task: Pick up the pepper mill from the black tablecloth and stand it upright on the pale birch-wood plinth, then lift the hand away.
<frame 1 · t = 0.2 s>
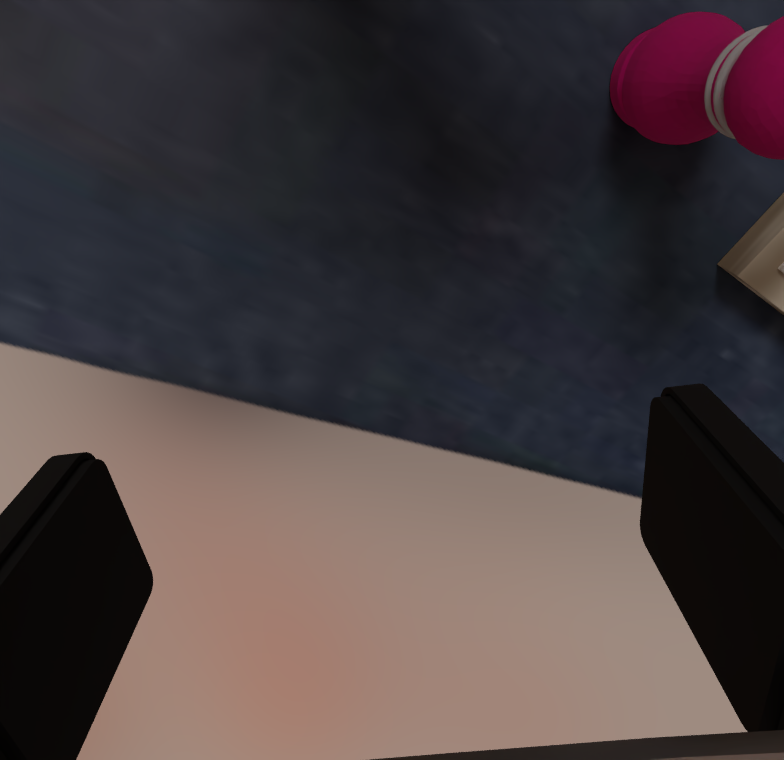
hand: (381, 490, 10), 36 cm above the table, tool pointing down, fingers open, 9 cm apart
pepper mill: (654, 79, 40), on the table
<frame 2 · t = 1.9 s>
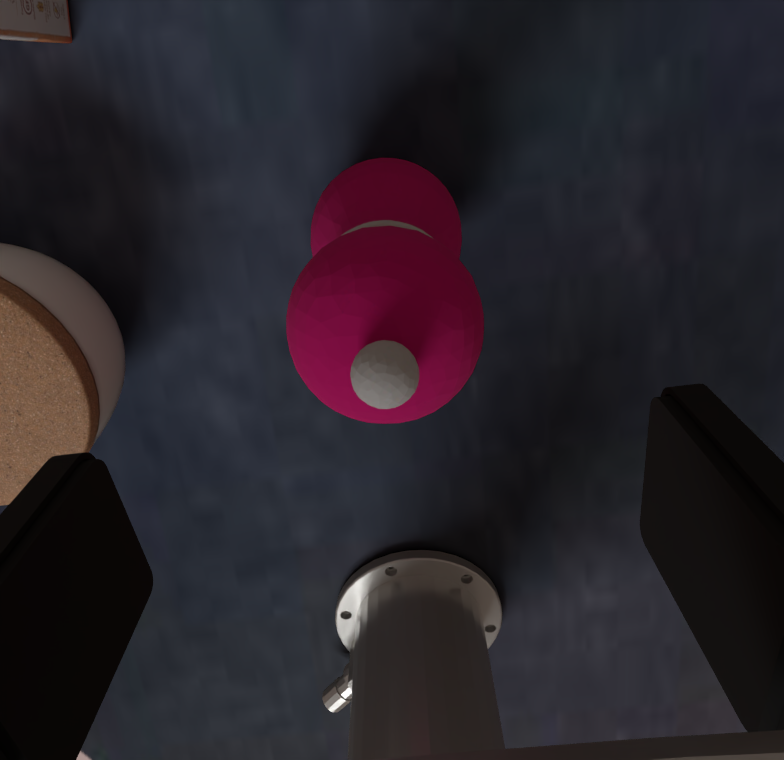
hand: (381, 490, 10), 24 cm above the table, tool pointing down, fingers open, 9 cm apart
lidded bowl: (51, 322, 35), on the table
pepper mill: (386, 218, 32), on the table
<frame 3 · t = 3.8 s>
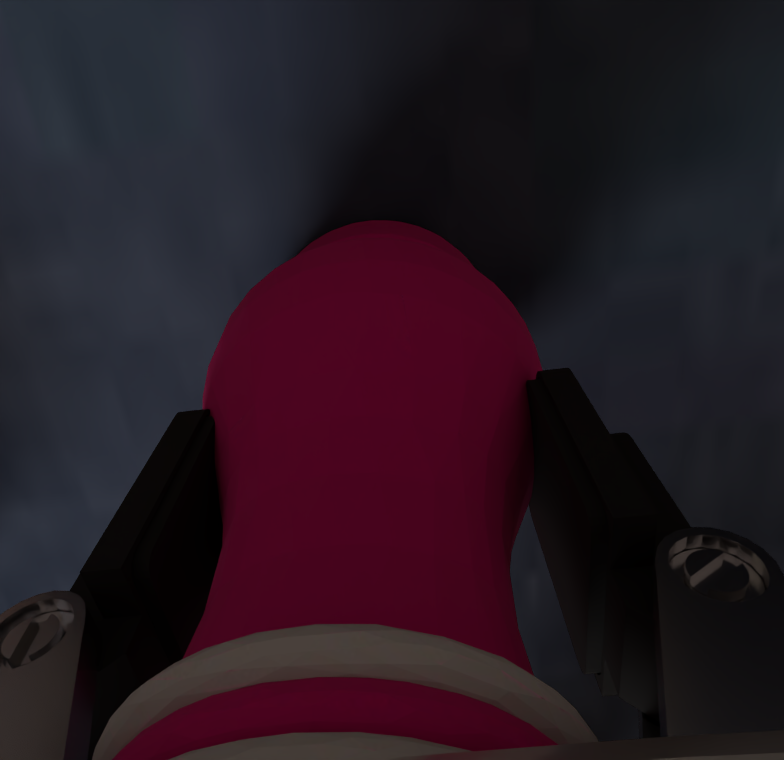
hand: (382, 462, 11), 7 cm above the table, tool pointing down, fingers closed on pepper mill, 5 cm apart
pepper mill: (381, 327, 17), on the table, touching gripper
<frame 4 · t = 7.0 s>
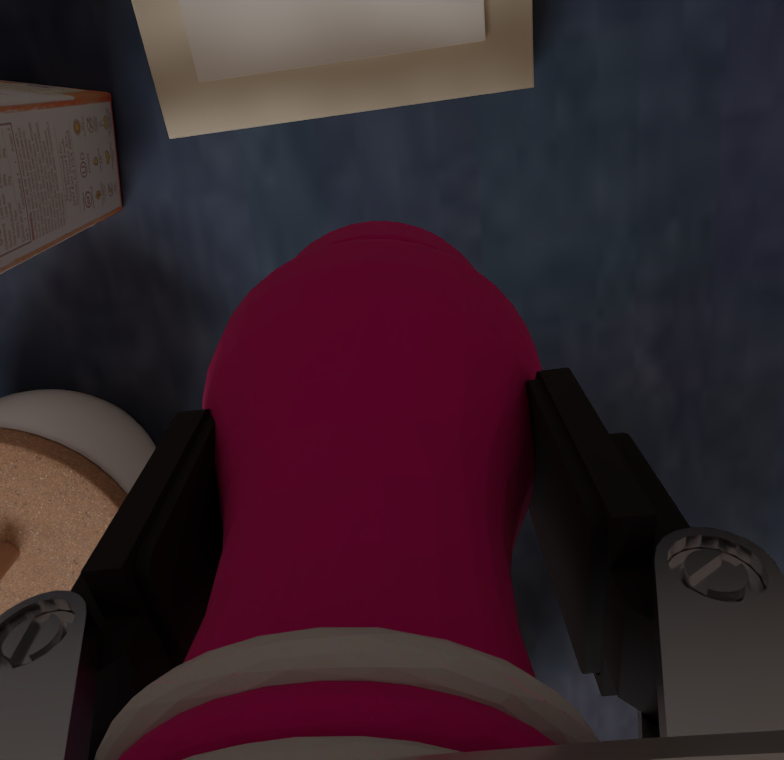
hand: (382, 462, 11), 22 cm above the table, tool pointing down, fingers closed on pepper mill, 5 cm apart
lidded bowl: (93, 444, 37), on the table
pepper mill: (381, 327, 17), point 15 cm above the table, touching gripper
when the fingers open (11 cm above the table, at t = 10.2 s): pepper mill stays where it is, resting on birch plinth.
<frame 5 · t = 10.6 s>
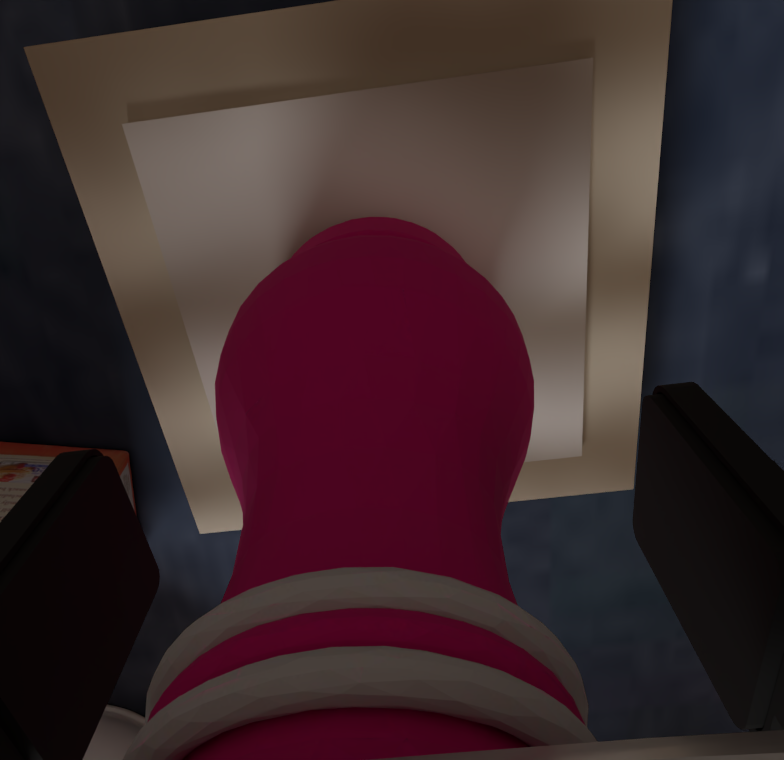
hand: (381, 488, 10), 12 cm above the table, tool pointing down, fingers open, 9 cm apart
lidded bowl: (105, 738, 33), on the table
birch plinth: (384, 277, 21), on the table
pepper mill: (377, 317, 18), point 3 cm above the table, touching birch plinth
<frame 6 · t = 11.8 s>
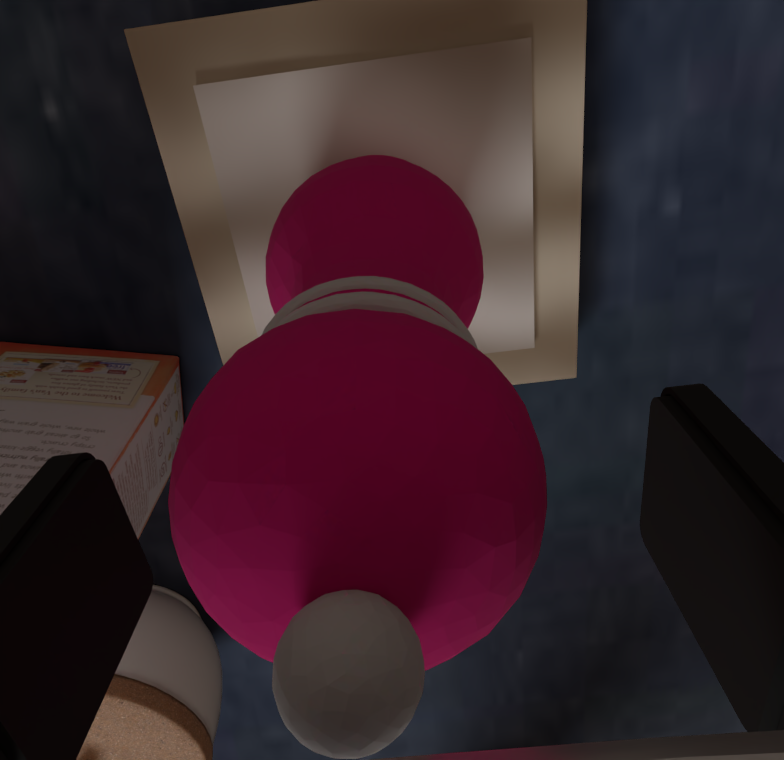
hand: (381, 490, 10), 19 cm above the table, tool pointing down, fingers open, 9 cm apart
cracker box: (54, 390, 31), on the table
lidded bowl: (149, 618, 40), on the table
birch plinth: (382, 211, 27), on the table
pepper mill: (377, 235, 24), point 3 cm above the table, touching birch plinth
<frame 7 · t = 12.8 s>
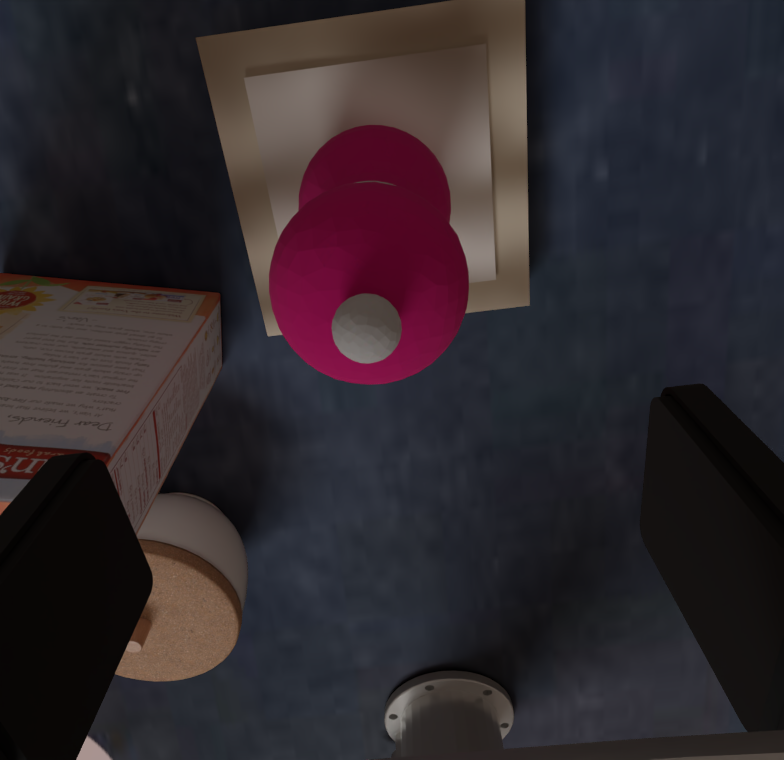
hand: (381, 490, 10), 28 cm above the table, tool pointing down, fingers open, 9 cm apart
cracker box: (119, 322, 39), on the table
lidded bowl: (185, 525, 48), on the table
birch plinth: (380, 176, 35), on the table
pepper mill: (376, 190, 32), point 3 cm above the table, touching birch plinth
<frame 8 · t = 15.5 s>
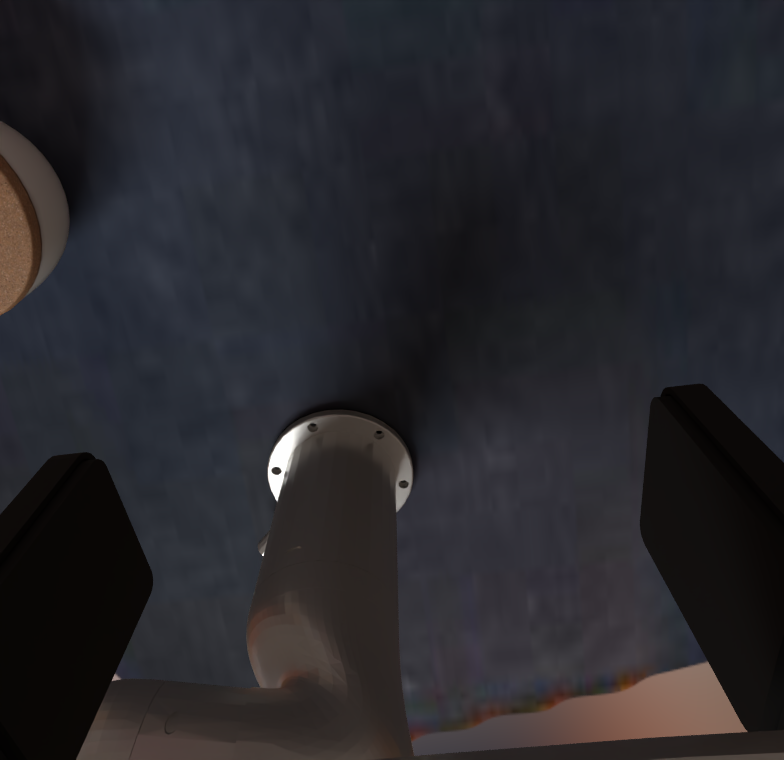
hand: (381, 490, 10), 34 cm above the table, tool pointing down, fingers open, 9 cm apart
lidded bowl: (8, 192, 41), on the table
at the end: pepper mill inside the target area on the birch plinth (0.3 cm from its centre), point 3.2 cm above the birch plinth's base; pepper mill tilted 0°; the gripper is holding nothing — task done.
